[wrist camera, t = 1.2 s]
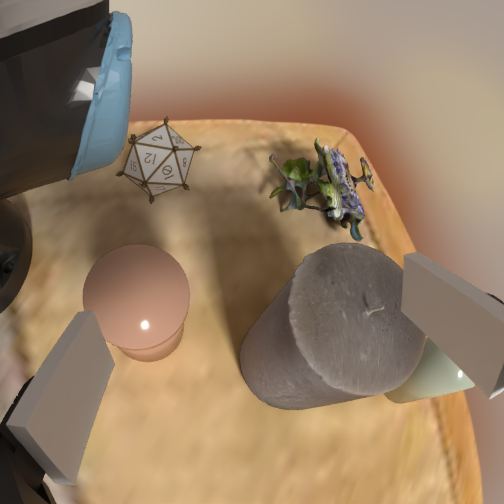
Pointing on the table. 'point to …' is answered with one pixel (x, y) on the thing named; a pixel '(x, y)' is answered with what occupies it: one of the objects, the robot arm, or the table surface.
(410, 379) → the pale green cylinder
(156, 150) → the game die
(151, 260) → the peach round-topped cylinder
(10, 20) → the robot arm
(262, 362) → the pillar candle
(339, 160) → the passion flower
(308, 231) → the table surface
